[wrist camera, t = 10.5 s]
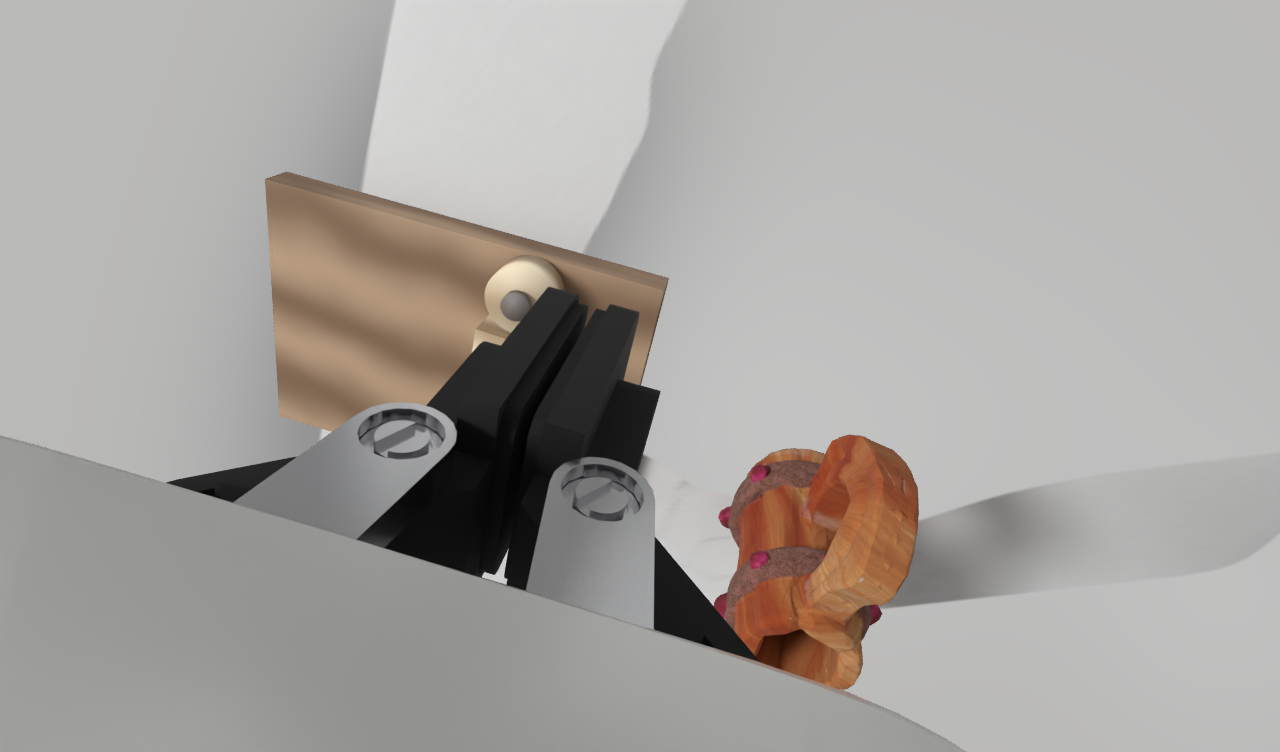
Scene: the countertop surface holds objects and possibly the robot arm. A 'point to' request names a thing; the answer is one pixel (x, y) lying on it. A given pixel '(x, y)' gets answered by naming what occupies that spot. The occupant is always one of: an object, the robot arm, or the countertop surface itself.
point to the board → (401, 297)
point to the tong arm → (514, 275)
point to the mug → (819, 554)
